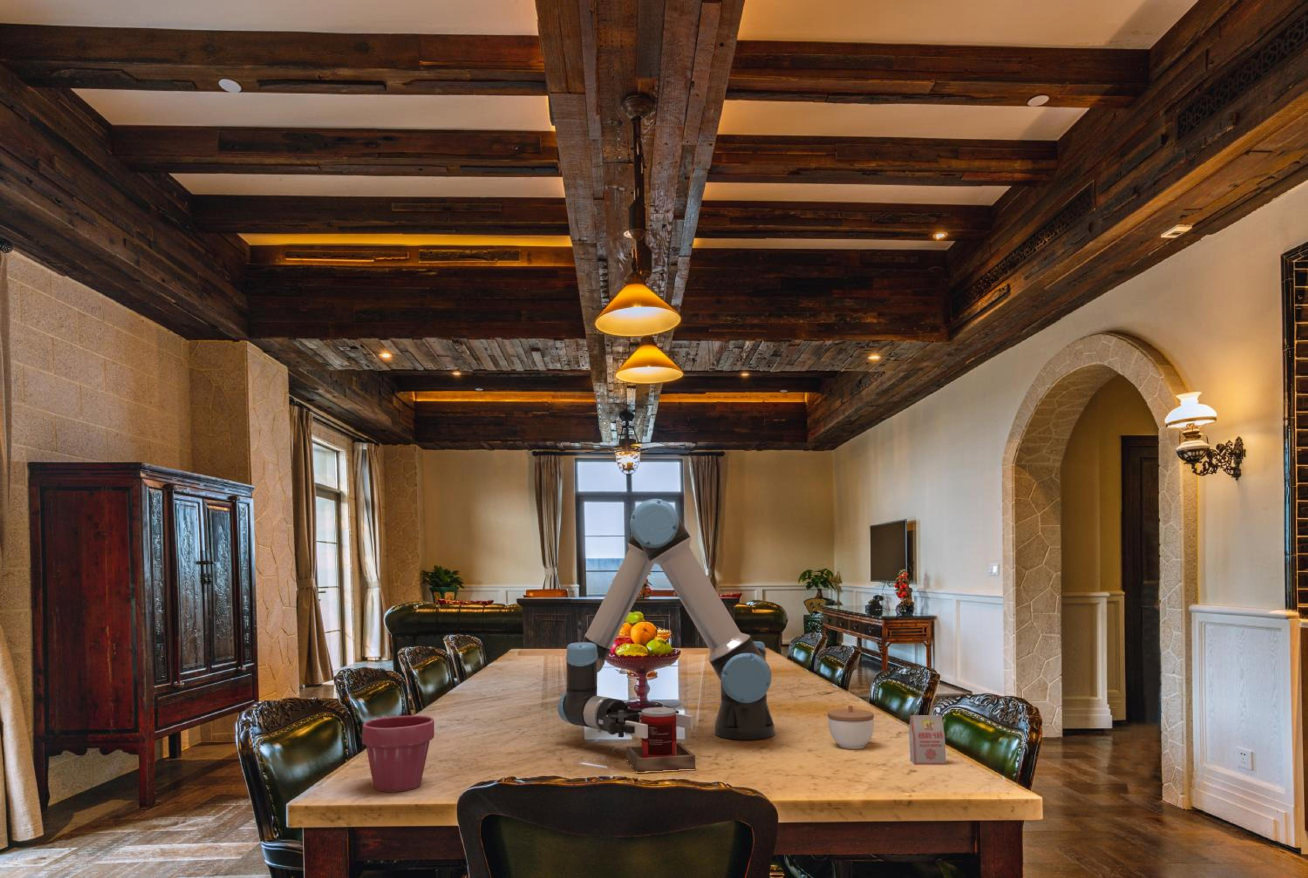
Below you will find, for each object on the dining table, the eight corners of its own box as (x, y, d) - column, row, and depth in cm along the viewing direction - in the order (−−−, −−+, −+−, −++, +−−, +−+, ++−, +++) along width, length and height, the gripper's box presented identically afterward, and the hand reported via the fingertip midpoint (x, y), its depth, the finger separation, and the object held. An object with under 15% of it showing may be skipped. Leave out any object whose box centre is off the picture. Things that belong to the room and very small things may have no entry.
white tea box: (910, 760, 194) (908, 713, 195) (941, 760, 194) (939, 713, 195) (914, 764, 190) (912, 716, 192) (946, 764, 190) (943, 716, 191)
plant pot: (370, 778, 184) (372, 715, 186) (438, 776, 185) (440, 713, 187) (352, 797, 170) (354, 728, 172) (426, 794, 171) (427, 726, 173)
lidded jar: (837, 739, 216) (836, 700, 217) (880, 744, 210) (879, 703, 212) (822, 748, 207) (820, 707, 208) (867, 753, 201) (865, 711, 202)
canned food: (660, 756, 198) (660, 705, 199) (684, 762, 192) (683, 710, 193) (634, 761, 193) (633, 710, 194) (657, 768, 187) (657, 714, 188)
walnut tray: (680, 756, 200) (680, 743, 200) (695, 770, 188) (695, 755, 188) (626, 760, 197) (626, 746, 198) (637, 774, 185) (637, 759, 185)
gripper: (647, 723, 214) (710, 736, 199) (564, 739, 198) (626, 754, 182) (646, 691, 215) (709, 701, 200) (564, 704, 199) (626, 716, 183)
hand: (669, 727), depth 191 cm, fingers open, 13 cm apart
